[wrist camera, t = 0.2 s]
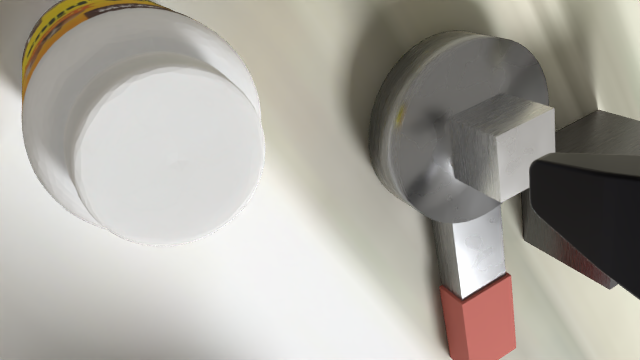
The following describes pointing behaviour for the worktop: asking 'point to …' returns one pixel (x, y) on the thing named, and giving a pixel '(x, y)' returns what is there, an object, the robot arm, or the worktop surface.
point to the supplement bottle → (140, 120)
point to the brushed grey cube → (591, 138)
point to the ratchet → (464, 167)
